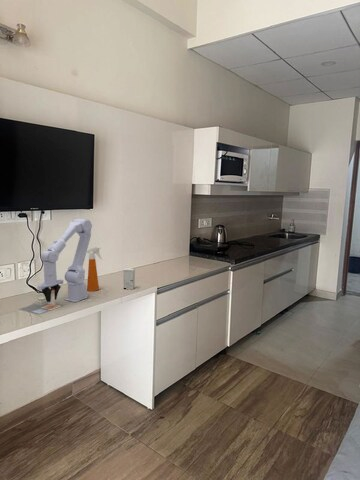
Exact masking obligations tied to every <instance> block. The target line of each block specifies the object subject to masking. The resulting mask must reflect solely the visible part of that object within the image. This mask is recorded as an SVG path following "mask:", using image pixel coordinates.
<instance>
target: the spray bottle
mask: <svg viewBox="0 0 360 480" xmlns="http://www.w3.org/2000/svg"><path fill="white" fill-rule="evenodd" d="M100 250H101V246H95V247H92V248H90V249H87V252H86V254H89V255H88V268H87V269H88V270H87V271H88V272H87V282H86V283H87V284H86V290H87V291H88V292H96V290H97V291H99V290H100V286H99V279H98V278H99V276H98V270H97V261H96V256H98V258H99V259H100V260H101V261H103V260H104V258H103V257H102V255H101V254H100ZM95 254H96V255H95Z"/></svg>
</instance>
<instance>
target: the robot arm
mask: <svg viewBox="0 0 360 480" xmlns="http://www.w3.org/2000/svg"><path fill="white" fill-rule="evenodd" d="M92 228H93V224H92V222H91V221H90V219H88V218H85V219H84V218H73V219H72V220H71V221H70V222H69V226H68V227H67V228H66V230H65V231H64V233H63V234H62V235H61V237H60V238H57V239H54V240H53V243H52V244H51V245H49V247H48V248H47V249H46V250H44V251H43V252H42V253H41V256H40V260H41V261H42V265H43V273H44V274H43V275H44V276H43V277H44V281H43V283H42V284H39V285H37V291H41V292H42V293H43V295H44V298H46V301H47V302H50V301H51V291H52V289H55V301H56V300H57V298H58V294H59V292H60V289H61V287H62V286H61V285H64V280H65V281H66V283H67V293H68V294H67V295H68V296H67V297H66V298H65V299H64V300H65V301H69V302H72V303H77V302H80V301H82V300H85V299H87V298H88V297H89V296H87V294H88V293H87V291H88V290H87V284H86V282H84V281H85V278H86V276H85V274H86V270H85V269H84V262H85V259H86V255H87V251H88V248H89V243H90V242H91V237H92V232H91V231H92ZM74 234H77V235H78V237H79V239H78V241H77V242H78V243H77V245H76V250H75V254H74V257H73V261H72V264H71V265H70V266H69V267H68V268H67V270H66V271H65V274H64V280H63V279H58V278H57V276H58V275H57V261H58V260H59V255H60V254H61V252H62V251H63V250H64V249H65V248H66V246H67V244H66V243H67V242H68V241H69V239H71V238H72V237H73V236H74Z"/></svg>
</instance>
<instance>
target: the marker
mask: <svg viewBox="0 0 360 480" xmlns="http://www.w3.org/2000/svg"><path fill="white" fill-rule="evenodd" d="M54 304H56V300H55V289H52V291H51V301H50V302H48V305H54Z"/></svg>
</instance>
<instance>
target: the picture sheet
mask: <svg viewBox="0 0 360 480" xmlns="http://www.w3.org/2000/svg"><path fill="white" fill-rule="evenodd" d="M61 307H64V305H62V304H58V303H55V304H54V305H48V304H45V305H42V306H41V305H36V304H35V303H34V304H33V303H32V304H31V305H28V306H24V307H21V308H19V309H18V310H20V311H24V312H27V313H32V314H35V315H42V314H44V313H48V312H50V311H53V310H55V309H59V308H61Z"/></svg>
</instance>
